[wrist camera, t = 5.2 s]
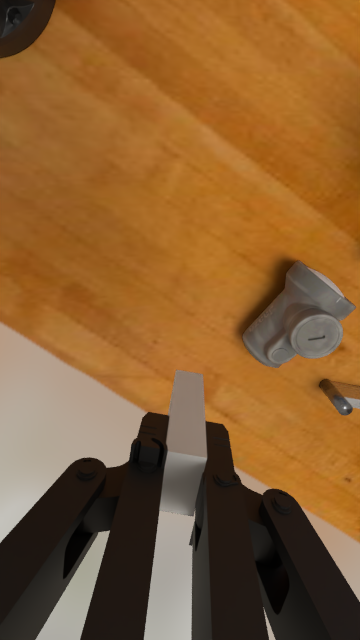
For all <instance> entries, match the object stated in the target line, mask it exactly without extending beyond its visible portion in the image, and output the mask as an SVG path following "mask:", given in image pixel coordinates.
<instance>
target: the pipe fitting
mask: <svg viewBox="0 0 360 640" xmlns="http://www.w3.org/2000/svg"><path fill="white" fill-rule="evenodd" d="M355 308H356V306H355V305H354V304H353V303H351V302H350V301H349V300H348V299H347V298H346V297H344V296H343V294H342V292H341V291H340V290H339V288H338V287H337V286H336V285H335V284H334V283H333V282H332V281H331V280H330V279H328V278H327V277H326V276H324V275H323V274H321V273H319V272H318V271H316V270H313V269H311V268H308V267H307V266H306V265H304V264H303V263H302V262H300V261H299V260H297V261H296V262H295V263H294V265H293V266H292V267H291V268H290V269H289V270H288V271H287V273H286V280H285V288H284V290H283V291H282V292H281V293H280V294H279V295H278V296H277V297H276V298H275V299H274V301H273V302H272V303H271V304H270V305H269V306H268V307H267V308H266V309H265V310H264V311H263V312H262V313H261V314H260V315H259V317H258V318H257V319H256V320H255V321H254V322H253V323H252V324H251V325H250V326H249V327H248V328H247V330H246V331H245V332H244V333H243V336H242V337H243V342H244V345H245V347H246V349H247V350H248V351H249V353H250V354H251V355H252V356H253V357H254V358H255V359H256V360H258V361H259V362H260V363H262V364H263V365H266V366H269V367H274V368H278V367H279V366H280V365H281V364H283V363H285V362H288V361H289V360H291V359H292V358H293V357H294V356H295V355H297V354H299V355H300V356H302V357H305V358H320V357H324V356H326V355H328V354H330V353H331V352H333V351H334V350H335V349H336V348H337V347H338V346H339V344H340V342H341V340H342V337H343V329H342V326H341V324H340V322H339V321H340V320H343V319H344V318H346V317H347V316H348V315H349V314H350V313H351V312H352V311H353V310H354V309H355Z"/></svg>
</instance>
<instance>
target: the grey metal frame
mask: <svg viewBox="0 0 360 640" xmlns="http://www.w3.org/2000/svg"><path fill="white" fill-rule="evenodd" d="M320 388H321V389H322V390H323V392H324V393H325V394H326V396H327V397H328V398H329V400H330V401H331V402H332V404H333V405H334V406H335V408H336V409H337V410H338V412H339V413H340V414H341V415H349V414H350V413H351V412H352V410H353V408H352V407H354V408H359V409H360V386H354V385H349V384H343V383H337V382H332V381H330V380H328V379H325V380H322V381H321V382H320Z"/></svg>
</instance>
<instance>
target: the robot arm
mask: <svg viewBox="0 0 360 640" xmlns="http://www.w3.org/2000/svg"><path fill="white" fill-rule="evenodd" d="M54 4H55V0H0V57H6V56H10V55H13V54H15V53H18V52H20V51H22V50H23V49H25V48H26V47H28V46H29V45H30V44H31V43H32V42H33V41H34V40H35V39H36V38H37V37H38V36H39V35H40V34H41V32H42V31H43V29H44V28H45V26H46V24H47V22H48V20H49V18H50V16H51V13H52V10H53V7H54ZM159 511H165V512H171V513H177V514H183V515H188V516H193V515H194V511H195V522H194V526H193V531H192V535H191V539H190V543H189V545H191V546H192V544H193V554H192V558H193V559H192V640H269V637H268V631H267V626H266V620H265V614H264V609H265V612H266V615H267V618H268V620H269V623H270V626H271V628H272V631H273V634H274V637H275V639H276V640H360V602H359V600H358V599H357V597H356V595H355V594H354V592H353V591H352V589H351V588H350V586H349V584H348V583H347V581H346V579H345V578H344V576H343V575H342V573H341V571H340V570H339V568H338V567H337V565H336V563H335V562H334V560H333V559H332V557H331V555H330V554H329V552H328V550H327V549H326V547H325V546H324V544H323V542H322V541H321V539H320V537H319V536H318V534H317V533H316V531H315V529H314V528H313V526H312V525H311V523H310V521H309V520H308V518H307V517H306V515H305V513H304V512H303V510H302V508H301V507H300V505H299V504H298V502H297V501H296V500H295V499H294V498H293V497H292V496H291V495H289V494H288V493H286V492H284V491H282V490H279V489H269V490H267V491H266V492H264V493H263V495H261V494H259V493H257V492H254V491H252V490H250V489H248V488H247V487H245V486H244V485H243V484H242V483H241V480H240V478H239V476H238V475H237V474H236V473H235V471H234V465H233V459H232V452H231V448H230V441H229V434H228V431H227V429H226V428H225V427H224V425H223V424H219V423H213V422H207V421H205V406H204V387H203V374H198V373H192V372H187V371H181V370H176V374H175V379H174V385H173V390H172V395H171V401H170V406H169V412H168V415H163V414H157V413H152V412H148V413H147V414H146V415H145V416H144V417H143V418H142V422H141V425H140V429H139V433H138V436H137V438H136V439H134V441H133V443H132V445H131V452H130V458H129V461H128V462H126V463H125V464H123V465H121V466H117V467H111V468H106V466H105V465H104V463H103V462H101V461H100V460H98V459H95V458H82V459H79V460H76V461H75V462H73V463H72V464H71V465H70V466H69V467H68V468H67V469H66V470H65V472H64V473H63V474H62V475H61V476H60V477H59V478H58V479H57V480H56V482H55V483H54V484H53V485H52V486H51V487H50V488H49V489H48V490H47V492H46V493H45V494H44V495H43V496H42V497H41V498H40V499H39V501H37V503H36V504H35V505H34V506H33V507H32V508H31V509H30V510H29V512H28V513H27V514H26V515H25V516H24V517H23V518H22V520H20V522H19V523H18V524H17V525H16V526H15V527H14V528H13V530H11V532H10V533H9V534H8V535H7V536H6V537H5V538H4V539H3V540H2V542H1V543H0V640H35V639H36V638H37V636H38V634H39V633H40V631H41V629H42V628H43V626H44V624H45V623H46V621H47V619H48V617H49V616H50V614H51V612H52V611H53V609H54V607H55V606H56V604H57V602H58V601H59V599H60V597H61V596H62V594H63V592H64V591H65V589H66V587H67V585H68V584H69V582H70V580H71V579H72V577H73V575H74V574H75V572H76V570H77V568H78V567H79V565H80V564H81V562H82V560H83V559H84V557H85V555H86V554H87V552H88V550H89V549H90V547H91V545H92V543H93V542H94V540H95V538H96V537H97V535H98V532H102V531H109V530H110V533H109V537H108V541H107V544H106V548H105V552H104V555H103V558H102V562H101V566H100V570H99V573H98V577H97V580H96V584H95V588H94V592H93V595H92V599H91V602H90V606H89V609H88V613H87V617H86V620H85V624H84V628H83V631H82V635H81V639H80V640H144V632H145V623H146V615H147V607H148V599H149V590H150V582H151V574H152V566H153V558H154V550H155V542H156V533H157V524H158V516H159ZM263 607H264V608H263Z"/></svg>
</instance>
